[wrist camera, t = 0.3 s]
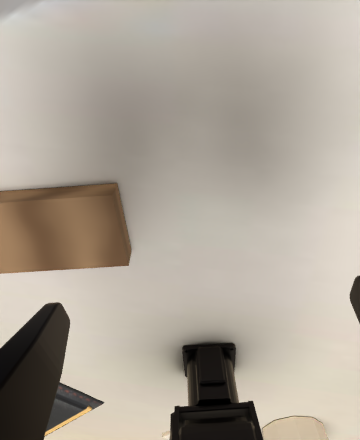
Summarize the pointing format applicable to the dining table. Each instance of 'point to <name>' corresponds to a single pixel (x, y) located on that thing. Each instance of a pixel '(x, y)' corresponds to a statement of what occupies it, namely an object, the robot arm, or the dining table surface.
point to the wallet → (69, 407)
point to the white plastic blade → (166, 435)
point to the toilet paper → (295, 429)
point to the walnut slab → (62, 229)
